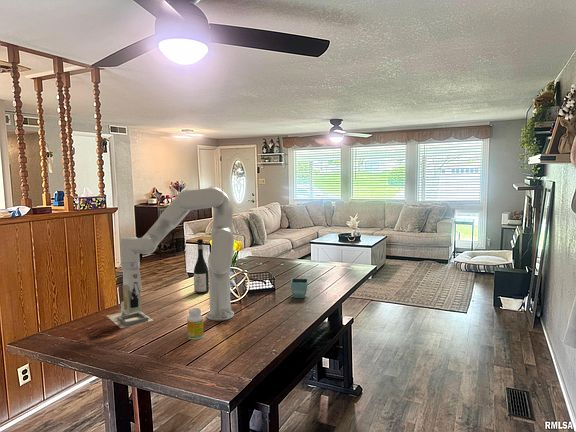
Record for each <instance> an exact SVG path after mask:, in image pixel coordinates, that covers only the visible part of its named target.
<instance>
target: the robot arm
mask: <svg viewBox="0 0 576 432" xmlns="http://www.w3.org/2000/svg"><path fill="white" fill-rule="evenodd" d="M210 208H211V209H213V219H212V220H213V222H212V230H211V233H210V239H211V244H210V245H211V247H210V252H209V255H208V258H207V267H208V274H209V291H208V295H209V296H208V297H209V312H208V311H207V313H206V318H207V319H208V320H210V321H215V322H216V321H217V322H218V321H219V322H220V321H227V320H230V319H232V318H234V316H235V312H234V311H233V310H232V306H231V305H232V304H231V271H230V270H231V267H232V262H233V255H234V246H235V237H234V233H233V232H232V230H233V229H232V228H233V227H232V226H233V215H234V214H233V203H232V201H231V199H230V198H229V196H228V195H227V193H226V192H224V190H222V189H220V188H219V187H218V186H210V187H207V188H199V189H198V188H197V189H184V190H181V191H180V192H179V193H178V194H177V196H176V197H175V198H174V199H173V200H172V201H171V202H170V204H169V205H167V207H166V208H165V210H163V211H162V212H161V214H160V215H159V217H158V218H157V220H156V221H155V222H154V224H153V225H152V226H151V227H149V229H148V231H147V232H146V233H145V234H144V235H143V236H142V237H137V236H123V237H121V238H120V239H119V243H120V244H119V245H120V265H121V267H120V268H121V270H122V286H123V285H126V286H128V290H129V292H130V293H131V299H130V303H131V308H135V307H138V294H139V291H140V292H141V291H142V289H143V288H142V277H141V272H140V268H141V261H140V260H141V259H140V254H142V255H150V254H153V253H154V252H156V250H157V247H158V246H159V244H160V243H161V242H162V241H163V240H164V239H165V237H167V235H168V234H169V233H170V232H171V231H172V230H174V229H176V227H178V226H179V224H180V223H181V222H183V220H184V219H185V217H186V216H187V215H188V214H189V212H190V211H194V210H202V209H210ZM132 290H135V291H132ZM133 293H135V294H133Z"/></svg>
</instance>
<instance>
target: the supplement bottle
mask: <svg viewBox="0 0 576 432" xmlns="http://www.w3.org/2000/svg"><path fill="white" fill-rule="evenodd" d="M186 321H187V322H186V323H187V324H186V325H187V338H188V339H189V340H195V341H196V340H200V339H203V338H204V334H205V333H204V316H203V315H202V310H201V308H199V307H196V308H195V307H193V308H190V309H188V316H187V318H186Z"/></svg>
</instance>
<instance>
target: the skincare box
mask: <svg viewBox="0 0 576 432" xmlns="http://www.w3.org/2000/svg"><path fill="white" fill-rule="evenodd" d="M132 291H135V290H132ZM133 294H135V293H133ZM122 297H123V301H124V312H125V313H127V314H131V313H134V312H138V311H141V312H142V300H141V297H142V296H141V291H139V294H138V307H135V308H131V303H130V299H131V293H130V292H129V290H128V286H126V285H123V284H122Z"/></svg>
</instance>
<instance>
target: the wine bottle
mask: <svg viewBox="0 0 576 432" xmlns="http://www.w3.org/2000/svg"><path fill="white" fill-rule="evenodd" d="M203 240H204V239H202V238H200V239H197V240H196V241H197V260H196V263H195V265H194V268H193V285H194V287H193V291H194V293H195V294H197V295H204V294H207V293H209V267H208V264H207V263H206V261H205V258H204V241H203Z"/></svg>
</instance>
